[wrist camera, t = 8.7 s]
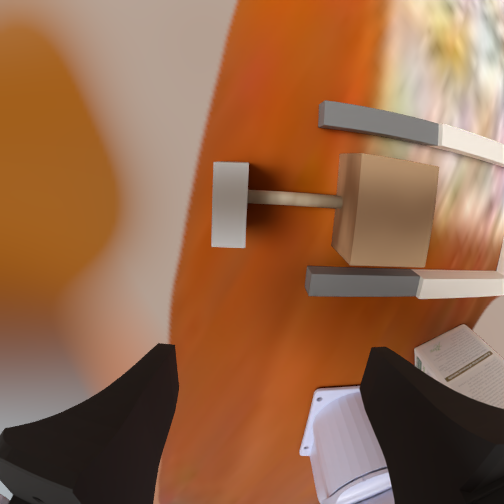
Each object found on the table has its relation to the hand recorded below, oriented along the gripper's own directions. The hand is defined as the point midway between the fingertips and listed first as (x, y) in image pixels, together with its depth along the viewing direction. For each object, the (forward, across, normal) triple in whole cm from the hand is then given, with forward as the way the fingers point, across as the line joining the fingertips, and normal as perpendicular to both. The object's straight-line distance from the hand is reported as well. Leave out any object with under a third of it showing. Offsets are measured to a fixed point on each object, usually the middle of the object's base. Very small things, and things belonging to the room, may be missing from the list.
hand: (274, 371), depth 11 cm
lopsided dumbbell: (+10, -3, -5) cm, 12 cm away
